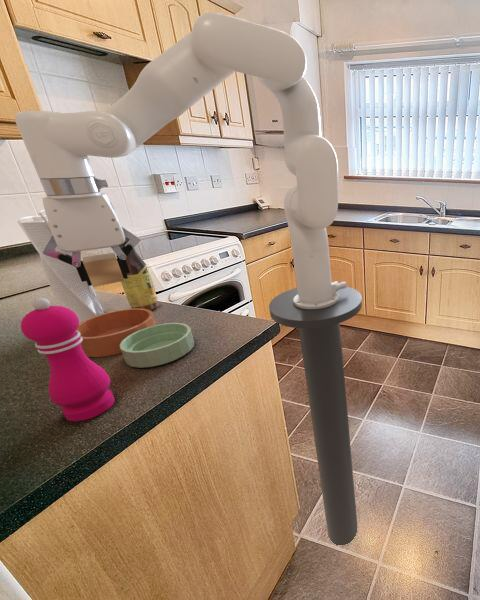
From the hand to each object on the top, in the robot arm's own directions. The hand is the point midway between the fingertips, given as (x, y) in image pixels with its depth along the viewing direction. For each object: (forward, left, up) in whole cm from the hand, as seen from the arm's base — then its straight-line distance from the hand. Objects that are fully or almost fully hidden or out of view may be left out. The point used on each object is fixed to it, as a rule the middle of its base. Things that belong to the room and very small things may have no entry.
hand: (108, 279), depth 69 cm
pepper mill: (+8, +21, -15) cm, 27 cm away
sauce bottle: (-5, -20, -15) cm, 25 cm away
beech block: (0, 0, 0) cm, 0 cm away
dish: (-4, +9, -15) cm, 18 cm away
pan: (+2, -4, -15) cm, 16 cm away
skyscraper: (+7, -20, -15) cm, 26 cm away
